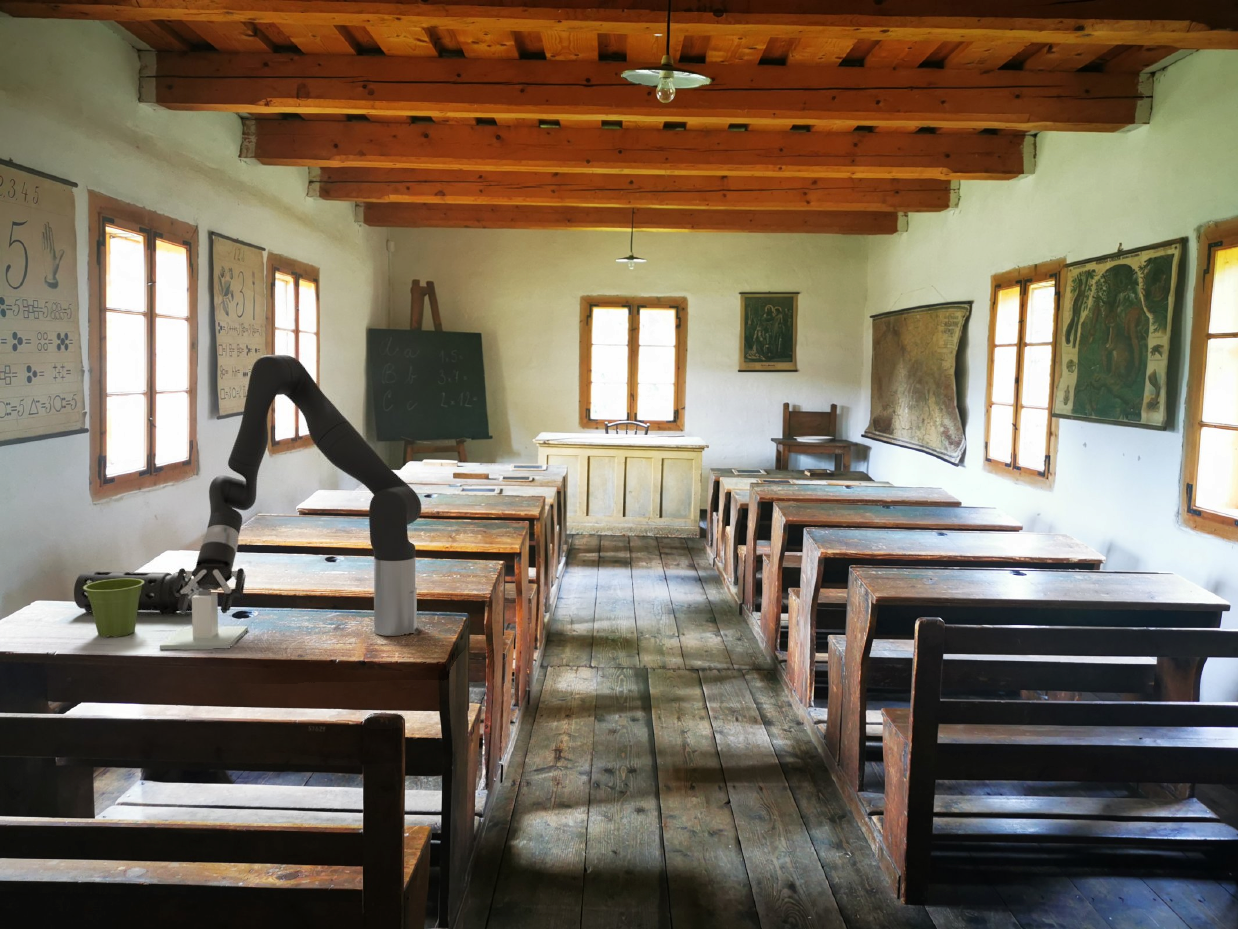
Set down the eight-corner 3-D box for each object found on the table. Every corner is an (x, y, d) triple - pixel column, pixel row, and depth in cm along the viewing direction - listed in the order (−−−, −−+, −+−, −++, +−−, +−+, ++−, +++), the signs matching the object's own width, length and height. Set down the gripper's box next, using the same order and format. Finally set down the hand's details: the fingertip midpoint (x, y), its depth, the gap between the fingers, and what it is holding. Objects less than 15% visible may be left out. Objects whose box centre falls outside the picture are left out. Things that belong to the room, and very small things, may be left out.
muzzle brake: (95, 607, 223) (94, 566, 222) (210, 609, 224) (209, 568, 223) (73, 617, 214) (71, 574, 213) (192, 619, 214) (191, 576, 213)
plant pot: (111, 624, 208) (110, 576, 207) (157, 628, 206) (156, 579, 205) (72, 639, 196) (70, 588, 195) (120, 643, 194) (118, 591, 193)
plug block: (218, 632, 200) (217, 587, 199) (212, 637, 196) (211, 592, 195) (199, 632, 199) (198, 587, 198) (192, 637, 195) (191, 592, 194)
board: (248, 630, 205) (247, 626, 205) (229, 648, 192) (229, 644, 191) (183, 631, 204) (183, 627, 204) (159, 649, 190) (159, 645, 190)
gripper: (181, 540, 202) (163, 603, 192) (247, 540, 204) (233, 602, 194) (190, 558, 208) (173, 620, 198) (254, 558, 210) (240, 620, 199)
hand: (202, 611), depth 196 cm, fingers open, 8 cm apart
